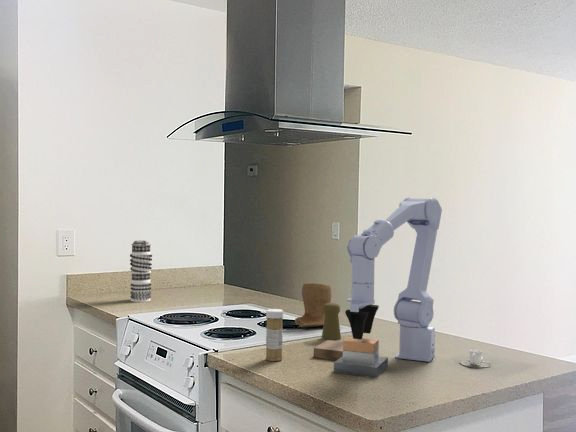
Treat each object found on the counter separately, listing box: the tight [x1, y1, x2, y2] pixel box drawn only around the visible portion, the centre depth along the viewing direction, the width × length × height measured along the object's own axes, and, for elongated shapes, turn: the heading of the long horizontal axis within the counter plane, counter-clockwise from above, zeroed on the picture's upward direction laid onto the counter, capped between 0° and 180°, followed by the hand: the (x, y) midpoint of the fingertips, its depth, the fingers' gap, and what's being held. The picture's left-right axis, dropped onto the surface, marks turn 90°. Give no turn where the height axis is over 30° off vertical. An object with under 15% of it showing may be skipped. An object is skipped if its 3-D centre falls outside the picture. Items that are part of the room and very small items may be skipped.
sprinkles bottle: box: [265, 308, 284, 362], centre depth 167 cm, size 5×5×13 cm
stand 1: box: [313, 340, 343, 361], centre depth 174 cm, size 11×11×2 cm
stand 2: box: [333, 356, 389, 378], centre depth 159 cm, size 11×11×2 cm
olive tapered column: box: [321, 302, 342, 341], centre depth 195 cm, size 6×6×11 cm
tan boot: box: [294, 282, 332, 329], centre depth 214 cm, size 15×12×15 cm
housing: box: [342, 336, 380, 364], centre depth 159 cm, size 8×5×5 cm, turn 67°
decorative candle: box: [129, 240, 153, 303], centre depth 262 cm, size 9×9×25 cm
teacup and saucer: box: [468, 348, 484, 365], centre depth 166 cm, size 9×8×4 cm
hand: (362, 335), depth 159 cm, fingers open, 7 cm apart
